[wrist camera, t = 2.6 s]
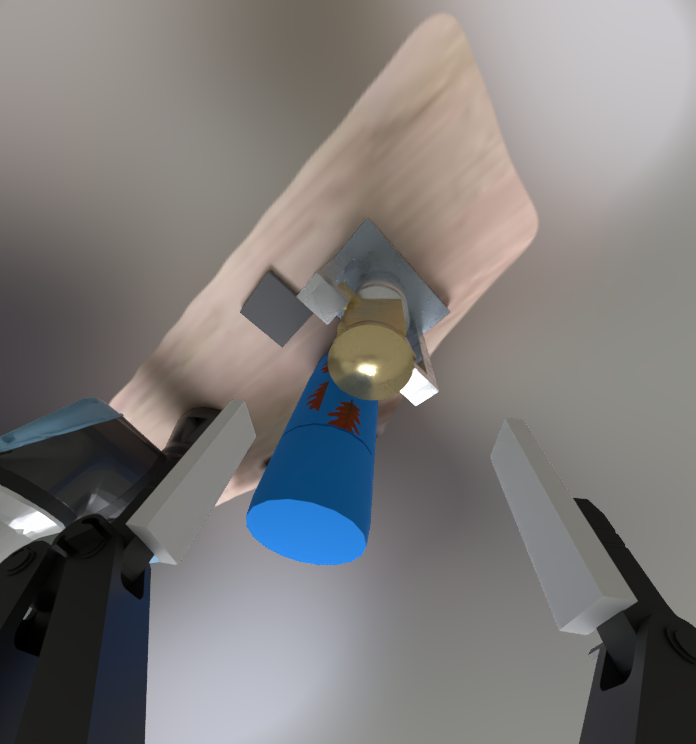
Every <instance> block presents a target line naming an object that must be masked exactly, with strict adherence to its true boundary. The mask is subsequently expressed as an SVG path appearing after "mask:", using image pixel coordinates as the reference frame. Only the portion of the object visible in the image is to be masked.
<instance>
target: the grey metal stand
mask: <svg viewBox="0 0 696 744" xmlns="http://www.w3.org/2000/svg"><path fill="white" fill-rule="evenodd" d="M341 280H343V281H344V282H345V283H346V284H347V285H348V286H349V287H350V288H351V289H352V290H353V291H354V292H355V293H356V294H357V295H358V296H359V297H360V298H361V299H402V305H403V312H404V319H405V327H406V336H405V337H406V338H407V340H408V341H409V344H410V346H411V349H412V350H413V351H414V352H415V353H416V358H417V359H416V360H414V369H413V373H412V376H411V378H410V380H409V382H408V383H407V385H406V386H405V387H404V388H403V389H402V390H401V391H400V392H401V393H402V394H403V395H404V396H405V397H406V398H408V399H409V400H410V401H411V402H412V403H413V404H414V405H415V406H417V405H418V404H420V403H422V402H423V401H425V400H426V399H428V398H429V397H431V396H433V395H434V394H435V393H437V392H438V391H439V390H438V387H437V383H436V380H435V376H434V372H433V369H432V365H431V362H430V358H429V354H428V350H427V347H426V343H425V340H424V336H423V334H424V333H425V332H426V331H427V330H429V329H430V328H431V327H432V326H434V325H435V324H436V323H438V322H439V321H440V320H441V319H443V318H444V317H445V316H446V315H448V314H449V313H450V311H449V309H448V308H447V307H446V305H445V304H444V303H443V302H442V301H441V300H440V299H439V297H438V296H437V295H436V294H435V293H434V292H433V291H432V289H431V288H430V287H429V286H428V285H427V284H426V283H425V282H424V280H423V279H422V278H421V277H420V276H419V275H418V274H417V272H416V271H415V270H414V269H413V268H412V267H411V266H410V265H409V263H408V262H407V261H406V260H405V259H404V258H403V257H402V255H401V254H400V253H399V252H398V251H397V250H396V249H395V247H394V246H393V245H392V244H391V243H390V242H389V241H388V240H387V238H386V237H385V236H384V235H383V234H382V233H381V232H380V230H379V229H378V228H377V227H376V226H375V225H374V224H373V222H372V221H371V220H370V219H369V218H367V219H366V220H365V221H364V223H363V224H362V225H361V226H360V227H359V229H358V230H357V231H356V232H355V233H354V235H353V236H352V237H351V238H350V239H349V241H348V242H347V243H346V244H345V245H344V247H343V248H342V249H341V250H340V251H339V253H338V254H337V255H336V256H335V257H334V258H333V259H332V260H331V261H330V262H328V263H327V264H326V265H325V266H324V267H322V268H321V269H320V270H319V271H317V272H316V273H315V275H314V276H313V277H312V278H311V279H310V281H309V282H308V283H307V284H306V286H305V287H304V288H303V289H302V290H301V292H300V293H299V294H298V295H297V298H298V299H299V300H300V301H301V302H302V303H304V304H305V305H306V306H307V307H308V308H309V309H310V310H311V311H312V312H313V313H314V314H316V315H317V316H318V317H319V318H320V319H321V320H322V321H323V322H324V323H325V324H327V325H328V324H329V323H330V322H331V321H332V320H333V319H334V318H335V317H336V316H337V317H338V318H340V319H342V317H343V315H344V312H345V310H344V309H343V308H344V307H345V306H346V305H347V304H348V303H349V301H350V298H349V297H348V296H347V295H346V294H345V293H344V292H343V291H342V290H341V289H340V288H339V287H338V286H337V285H338V284H339V283H340V281H341Z"/></svg>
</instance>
